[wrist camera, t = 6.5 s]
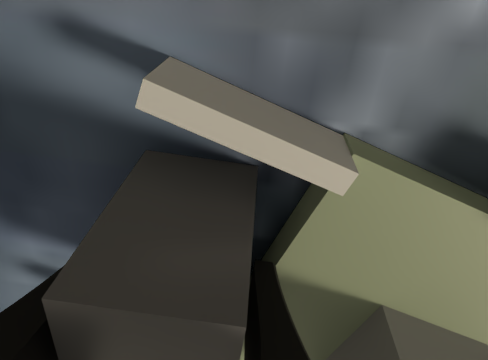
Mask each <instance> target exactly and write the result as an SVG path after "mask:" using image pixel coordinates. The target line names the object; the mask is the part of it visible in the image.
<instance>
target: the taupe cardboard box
mask: <svg viewBox="0 0 488 360" xmlns="http://www.w3.org/2000/svg"><path fill="white" fill-rule="evenodd" d="M257 174H258V166H254V165H247V164H240V163H233V162H226V161H219V160H212V159H205V158H198V157H191V156H184V155H177V154H170V153H163V152H156V151H149V150H146V151H145V152H144V154H143V155H142V157H141V158H140V159H139V161H138V162H137V164H136V165H135V166H134V168H133V169H132V171H131V172H130V174H129V175H128V176H127V178H126V179H125V181H124V182H123V184H122V185H121V186H120V188H119V189H118V191H117V192H116V193H115V195H114V196H113V198H112V199H111V201H110V202H109V203H108V205H107V206H106V208H105V209H104V210H103V212H102V213H101V215H100V216H99V218H98V219H97V220H96V222H95V223H94V225H93V226H92V228H91V229H90V230H89V232H88V233H87V235H86V236H85V237H84V239H83V240H82V242H81V243H80V245H79V246H78V247H77V249H76V250H75V252H74V253H73V254H72V256H71V257H70V259H69V260H68V262H67V263H66V264H65V266H64V267H63V269H62V270H61V272H60V273H59V274H58V276H57V277H56V279H55V280H54V281H53V283H52V284H51V286H50V287H49V289H48V290H47V291H46V293H45V294H44V296H43V297H42V298H41V299H42V303H43V306H44V310H45V313H46V317H47V320H48V324H49V327H50V331H51V335H52V338H53V342H54V345H55V349H56V352H57V356H58V359H59V360H240V356H241V351H242V346H243V341H244V337H245V332H246V325H247V312H248V298H249V284H250V270H251V257H252V243H253V229H254V215H255V202H256V188H257Z"/></svg>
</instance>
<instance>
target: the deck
mask: <svg viewBox="0 0 488 360" xmlns="http://www.w3.org/2000/svg"><path fill="white" fill-rule="evenodd" d="M135 108H137V109H139V110H142V111H144V112H146V113H149V114H151V115H153V116H156V117H158V118H160V119H163V120H165V121H168V122H170V123H172V124H175V125H177V126H179V127H182V128H184V129H186V130H189V131H191V132H193V133H196V134H198V135H200V136H203V137H205V138H207V139H210V140H212V141H214V142H217V143H219V144H221V145H224V146H226V147H229V148H231V149H233V150H236V151H238V152H240V153H243V154H245V155H247V156H250V157H252V158H254V159H257V160H259V161H261V162H264V163H266V164H268V165H271V166H273V167H275V168H278V169H280V170H282V171H285V172H287V173H290V174H292V175H294V176H297V177H299V178H301V179H304V180H306V181H308V182H311V185H310V186H309V188H308V189H307V191H306V192H305V194H304V196H303V197H302V199H301V200H300V202H299V203H298V205H297V206H296V208H295V209H294V211H293V212H292V214H291V215H290V217H289V218H288V220H287V221H286V223H285V225H284V226H283V228H282V229H281V231H280V232H279V234H278V235H277V237H276V238H275V240H274V241H273V243H272V244H271V246H270V247H269V249H268V250H267V252H266V253H265V255H264V257H263V258H262V260H261V261H267V262H273V263H274V264H275V265H276V270H277V274H278V278H279V282H280V285H281V289H282V292H283V295H284V298H285V301H286V304H287V307H288V309H289V312H290V314H291V317H292V319H293V322H294V325H295V327H296V329H297V332H298V334H299V336H300V338H301V341H302V343H303V345H304V347H305V349H306V351H307V353H308V356H309V358H310V360H488V199H487V198H485V197H483V196H481V195H479V194H476V193H474V192H472V191H470V190H468V189H465V188H463V187H461V186H459V185H457V184H455V183H452V182H450V181H448V180H446V179H444V178H441V177H439V176H437V175H435V174H433V173H431V172H428V171H426V170H424V169H422V168H420V167H418V166H415V165H413V164H411V163H409V162H407V161H404V160H402V159H400V158H398V157H396V156H394V155H391V154H389V153H387V152H385V151H383V150H381V149H378V148H376V147H374V146H372V145H370V144H367V143H365V142H363V141H361V140H359V139H357V138H354V137H352V136H350V135H348V134H346V133H344V135H341V134H338V133H336V132H334V131H332V130H330V129H327V128H325V127H323V126H321V125H319V124H317V123H314V122H312V121H310V120H308V119H306V118H303V117H301V116H299V115H297V114H295V113H293V112H290V111H288V110H286V109H284V108H282V107H279V106H277V105H275V104H273V103H271V102H268V101H266V100H264V99H262V98H260V97H258V96H255V95H253V94H251V93H249V92H247V91H244V90H242V89H240V88H238V87H236V86H233V85H231V84H229V83H227V82H225V81H223V80H220V79H218V78H216V77H214V76H212V75H209V74H207V73H205V72H203V71H201V70H199V69H196V68H194V67H192V66H190V65H188V64H185V63H183V62H181V61H179V60H177V59H174V58H172V57H169V58H167V59H166V60H165V61H164V62H163V63H161V64H160V65H159V66H158V67H157V68H155V69H154V70H153V71H152V72H150V73H149V74H148V75H147V76H146V77H144V78H143V81H142V85H141V88H140V92H139V95H138V99H137V103H136V106H135ZM252 274H253V273H252ZM251 279H252V275H251V276H250V284H251ZM250 284H249V289H250ZM240 360H244V341H243V346H242V351H241V356H240Z"/></svg>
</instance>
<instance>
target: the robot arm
mask: <svg viewBox="0 0 488 360" xmlns="http://www.w3.org/2000/svg"><path fill="white" fill-rule="evenodd" d="M64 266H65V265H64ZM64 266H63V267H64ZM63 267H62V268H60V269H59V270H58V271H57V272H55V273H54V274H53V275H52V276H50V277H49V278H48V279H46V280H45V281H44V282H43V283H41V284H40V285H39V286H37V287H36V288H35V289H33V290H32V291H30V292H29V293H28V294H26V295H25V296H23V297H22V298H21V299H19V300H18V301H17V302H15V303H14V304H12V305H11V306H9V307H8V308H6V309H5V310H4V311H2V312H1V313H0V360H59V359H58V356H57V352H56V349H55V345H54V342H53V338H52V335H51V331H50V327H49V324H48V320H47V317H46V313H45V310H44V306H43V303H42V299H41V298H42V297H43V296H44V294H45V293H46V291H47V290H48V289H49V287H50V286H51V284H52V283H53V281H54V280H55V279H56V277H57V276H58V274H59V273H60V272H61V270H62V269H63ZM244 360H310V358H309V356H308V353H307V351H306V349H305V347H304V345H303V343H302V341H301V338H300V336H299V334H298V332H297V329H296V327H295V325H294V322H293V319H292V317H291V314H290V312H289V309H288V307H287V304H286V301H285V298H284V295H283V292H282V289H281V285H280V282H279V278H278V274H277V270H276V265H275V264H274V263H273V262H267V261H260V260H255V263H254V268H253V274H252V279H251V284H250V289H249V298H248V312H247V325H246V332H245V337H244Z"/></svg>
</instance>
